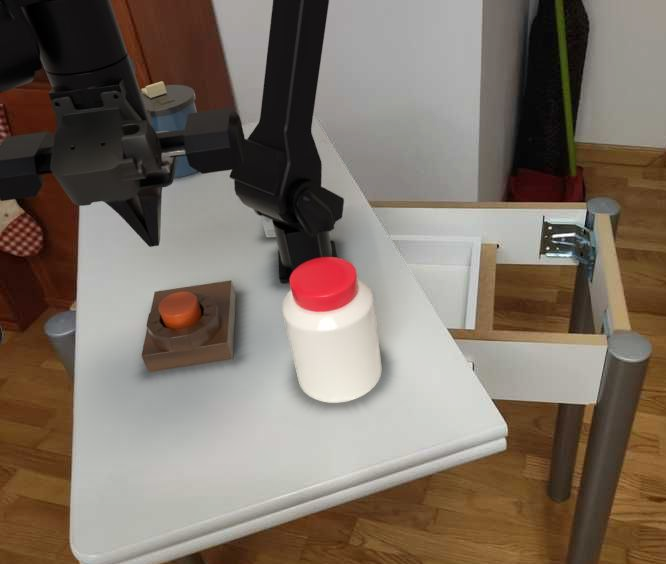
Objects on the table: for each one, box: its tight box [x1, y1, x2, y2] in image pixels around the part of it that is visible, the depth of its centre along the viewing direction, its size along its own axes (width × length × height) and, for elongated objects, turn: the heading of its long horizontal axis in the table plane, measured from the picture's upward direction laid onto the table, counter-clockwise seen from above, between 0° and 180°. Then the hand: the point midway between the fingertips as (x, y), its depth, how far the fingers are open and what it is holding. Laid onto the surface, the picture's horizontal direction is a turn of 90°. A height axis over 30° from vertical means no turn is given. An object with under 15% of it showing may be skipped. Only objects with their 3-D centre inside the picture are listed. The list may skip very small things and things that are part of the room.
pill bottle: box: [281, 257, 383, 404], centre depth 57 cm, size 8×8×11 cm
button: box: [158, 292, 202, 329], centre depth 62 cm, size 4×4×2 cm
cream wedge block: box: [140, 80, 167, 98], centre depth 90 cm, size 3×2×2 cm
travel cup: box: [141, 84, 198, 179], centre depth 92 cm, size 9×9×10 cm
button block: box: [141, 280, 237, 373], centre depth 65 cm, size 10×8×4 cm
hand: (155, 243), depth 57 cm, fingers closed
